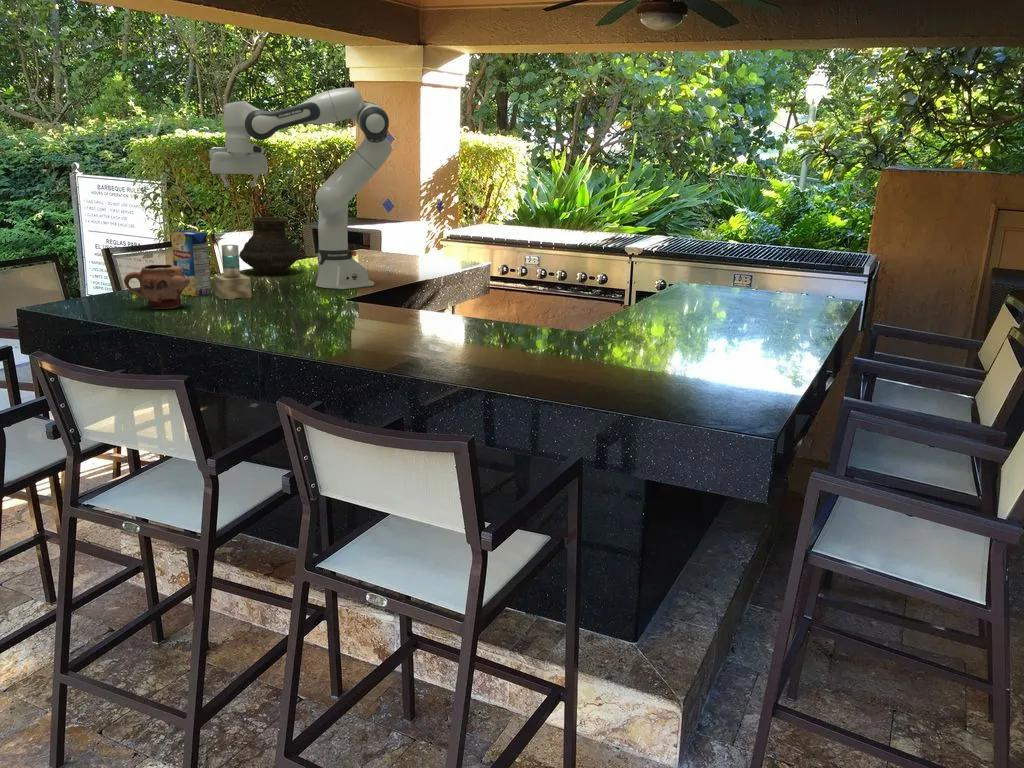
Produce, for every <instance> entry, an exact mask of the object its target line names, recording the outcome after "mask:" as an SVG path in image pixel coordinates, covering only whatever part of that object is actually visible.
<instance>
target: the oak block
mask: <svg viewBox="0 0 1024 768" xmlns="http://www.w3.org/2000/svg"><path fill="white" fill-rule="evenodd" d="M213 281H214V283H213V284H214V285H213V286H214V294H215V297H217V296H218V297H217V298H219V299H221V300H222V299H223V301H225V300H224V299H228V300H236V299H235V298H242V299H252V298H251V297H252V283H251V282H252V281H251V277H249V276H247V275H245V274H242V273H240V277H237V278H225V277H223V274H221V275H220V274H219V275H213Z"/></svg>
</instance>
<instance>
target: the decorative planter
mask: <svg viewBox="0 0 1024 768" xmlns="http://www.w3.org/2000/svg"><path fill="white" fill-rule="evenodd" d="M132 279H136V280H138V282H139V289H133V288H132V287H131V286H130V284H129V283H130V281H131V280H132ZM123 283H124V285H125V287H126V288H127V289H128V290H130V291H131V292H132V293H134V294H135V295H138V296H140V297H141V298H143V299H144V298H147V299H148V302H147V303H148V306H149V308H150V309H154V310H155V309H156V310H161V309H175V308H179V307H181V305H182V303H181V295H182V294H181V293H182V291H183V289H184V288H186V287H187V286H188V285H189V284H190V279H189V278H188V277H187V276H186V275H185V274H184V271H183V269H182V268H181V267H178V266H174V265H172V264H149V265H145V266H143V267H142V268H141V270H140V271H133V272H129V273H127V274H126V275H125V277H124V278H123Z"/></svg>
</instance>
